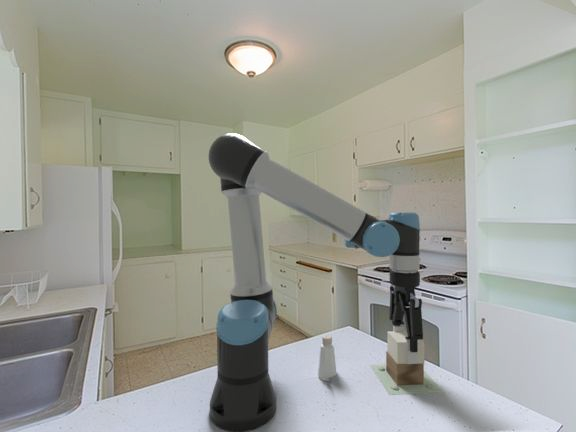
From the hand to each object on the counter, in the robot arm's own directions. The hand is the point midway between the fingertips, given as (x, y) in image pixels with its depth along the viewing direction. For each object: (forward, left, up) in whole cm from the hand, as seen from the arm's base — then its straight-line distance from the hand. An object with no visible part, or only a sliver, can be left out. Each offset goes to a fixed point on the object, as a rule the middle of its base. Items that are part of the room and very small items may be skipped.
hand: (404, 355), depth 79 cm
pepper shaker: (-20, +4, -7) cm, 22 cm away
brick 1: (0, 0, 0) cm, 0 cm away
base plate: (0, 0, -7) cm, 7 cm away
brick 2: (0, 0, -6) cm, 6 cm away
